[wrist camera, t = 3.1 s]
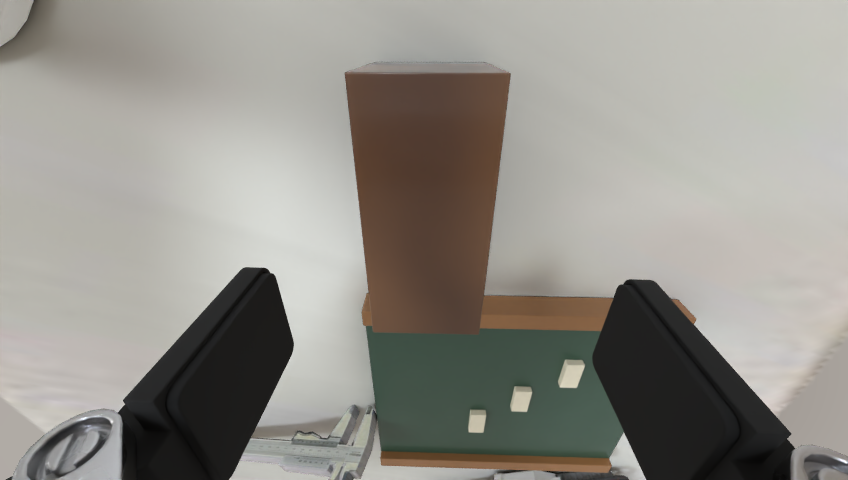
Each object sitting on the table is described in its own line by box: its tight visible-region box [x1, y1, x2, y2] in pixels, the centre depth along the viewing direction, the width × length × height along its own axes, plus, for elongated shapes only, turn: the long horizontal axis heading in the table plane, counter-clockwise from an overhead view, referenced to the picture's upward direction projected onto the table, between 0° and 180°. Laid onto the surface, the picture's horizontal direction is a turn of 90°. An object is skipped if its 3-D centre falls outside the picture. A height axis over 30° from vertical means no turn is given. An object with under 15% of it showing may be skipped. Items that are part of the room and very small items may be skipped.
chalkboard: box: [362, 293, 696, 473], centre depth 25 cm, size 20×18×2 cm
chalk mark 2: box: [510, 386, 532, 412], centre depth 25 cm, size 1×2×1 cm, turn 0°
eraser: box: [345, 62, 511, 335], centre depth 15 cm, size 5×11×6 cm, turn 0°
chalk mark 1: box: [468, 409, 486, 433], centre depth 26 cm, size 1×2×1 cm, turn 0°
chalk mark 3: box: [558, 360, 585, 388], centre depth 23 cm, size 1×2×1 cm, turn 0°
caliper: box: [240, 405, 377, 480], centre depth 27 cm, size 20×1×6 cm, turn 108°
